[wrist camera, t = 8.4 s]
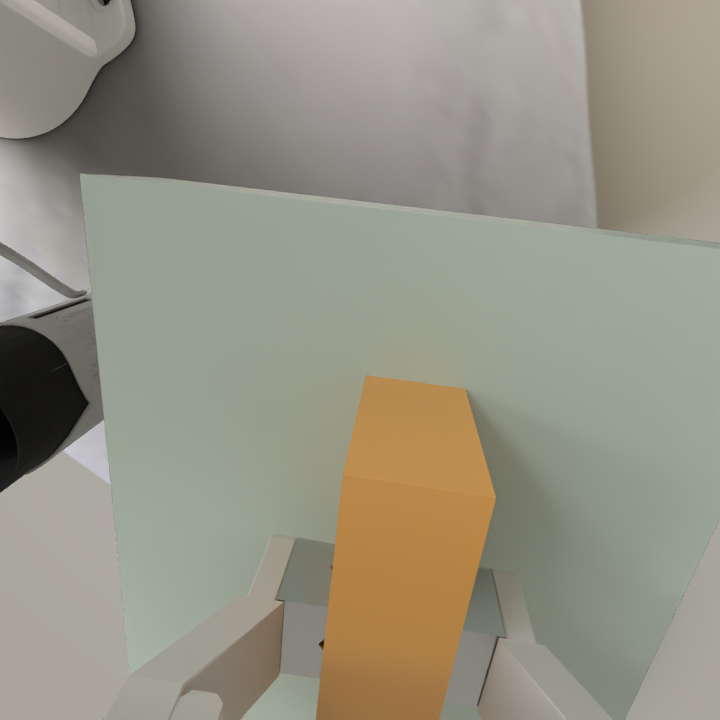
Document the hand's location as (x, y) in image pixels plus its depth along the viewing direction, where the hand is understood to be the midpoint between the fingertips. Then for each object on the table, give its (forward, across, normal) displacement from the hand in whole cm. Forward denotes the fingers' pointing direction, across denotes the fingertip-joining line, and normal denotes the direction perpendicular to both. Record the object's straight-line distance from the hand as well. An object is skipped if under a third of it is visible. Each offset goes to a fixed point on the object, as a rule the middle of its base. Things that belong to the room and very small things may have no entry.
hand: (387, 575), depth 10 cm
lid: (+4, 0, 0) cm, 4 cm away
